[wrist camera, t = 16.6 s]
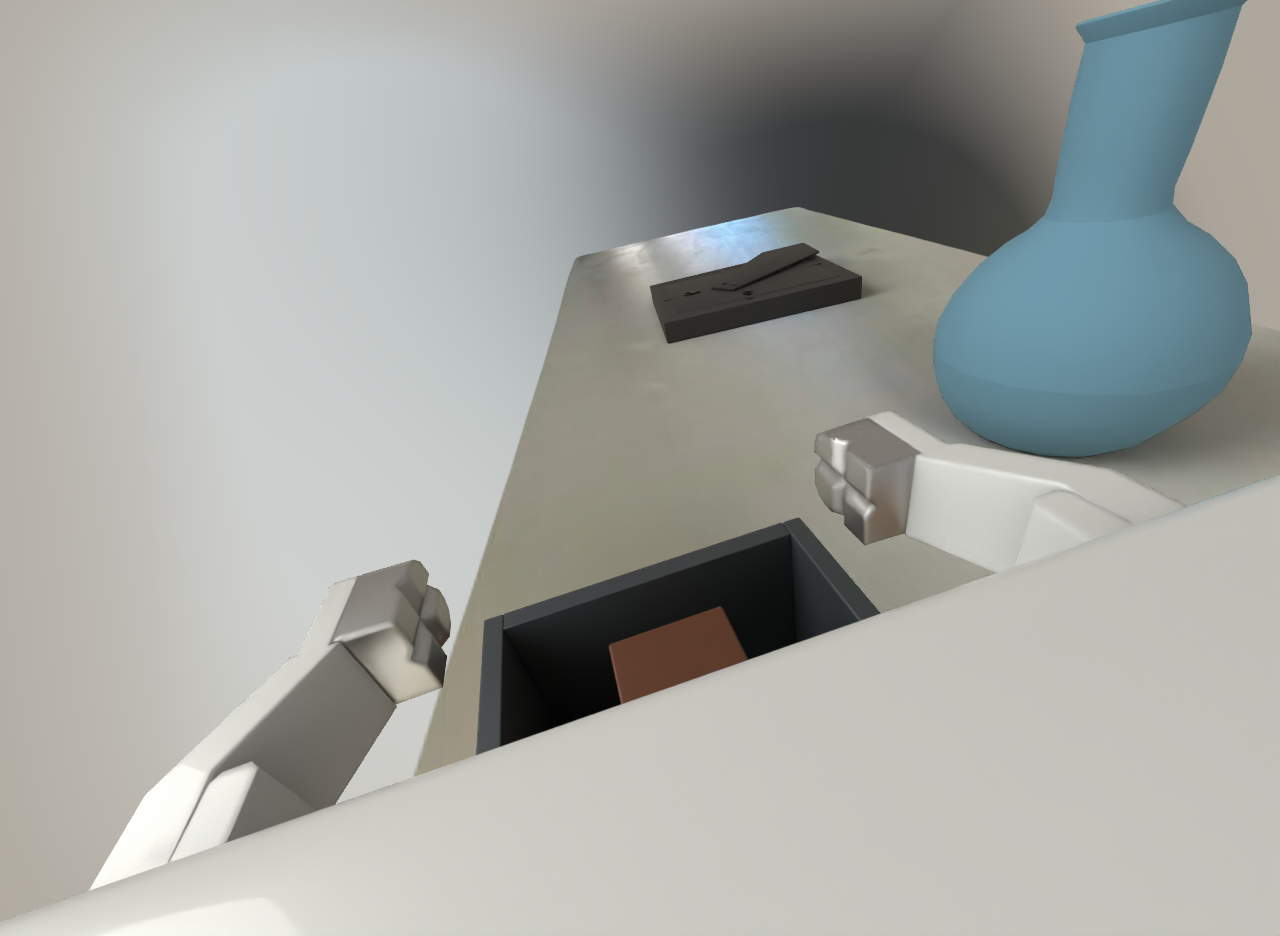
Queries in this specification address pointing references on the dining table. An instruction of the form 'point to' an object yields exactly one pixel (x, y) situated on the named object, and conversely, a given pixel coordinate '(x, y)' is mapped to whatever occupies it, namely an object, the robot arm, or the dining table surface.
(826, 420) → the dining table surface
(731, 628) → the chocolate box
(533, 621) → the gray open box
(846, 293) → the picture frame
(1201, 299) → the vase
